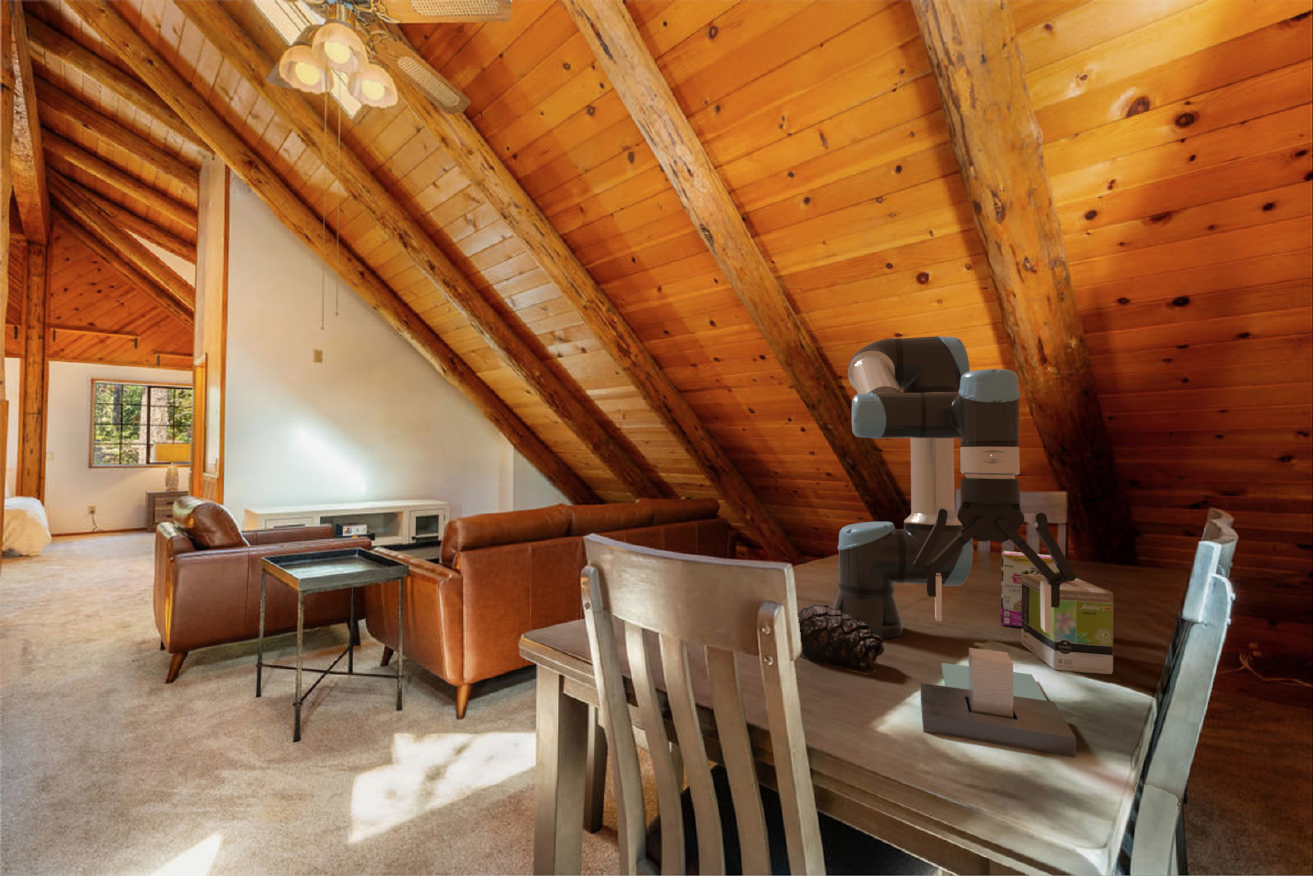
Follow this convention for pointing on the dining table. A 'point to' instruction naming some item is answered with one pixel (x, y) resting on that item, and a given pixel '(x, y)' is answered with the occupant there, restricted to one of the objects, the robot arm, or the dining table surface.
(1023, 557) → the candy bar box
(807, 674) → the dining table surface
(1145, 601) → the dining table surface
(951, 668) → the pad
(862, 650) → the pine cone
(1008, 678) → the pale wooden block
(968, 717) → the grey slotted board
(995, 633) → the dining table surface
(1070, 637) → the tea box
